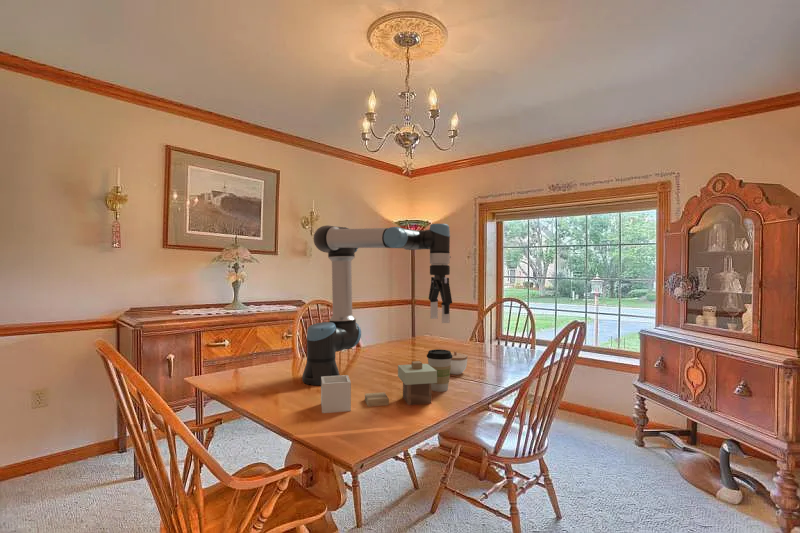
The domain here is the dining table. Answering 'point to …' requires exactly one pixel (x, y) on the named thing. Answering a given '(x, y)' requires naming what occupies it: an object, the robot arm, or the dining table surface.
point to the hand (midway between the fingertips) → (439, 320)
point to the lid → (417, 373)
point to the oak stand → (376, 399)
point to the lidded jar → (458, 363)
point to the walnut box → (417, 393)
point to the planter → (335, 394)
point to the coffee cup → (440, 368)
